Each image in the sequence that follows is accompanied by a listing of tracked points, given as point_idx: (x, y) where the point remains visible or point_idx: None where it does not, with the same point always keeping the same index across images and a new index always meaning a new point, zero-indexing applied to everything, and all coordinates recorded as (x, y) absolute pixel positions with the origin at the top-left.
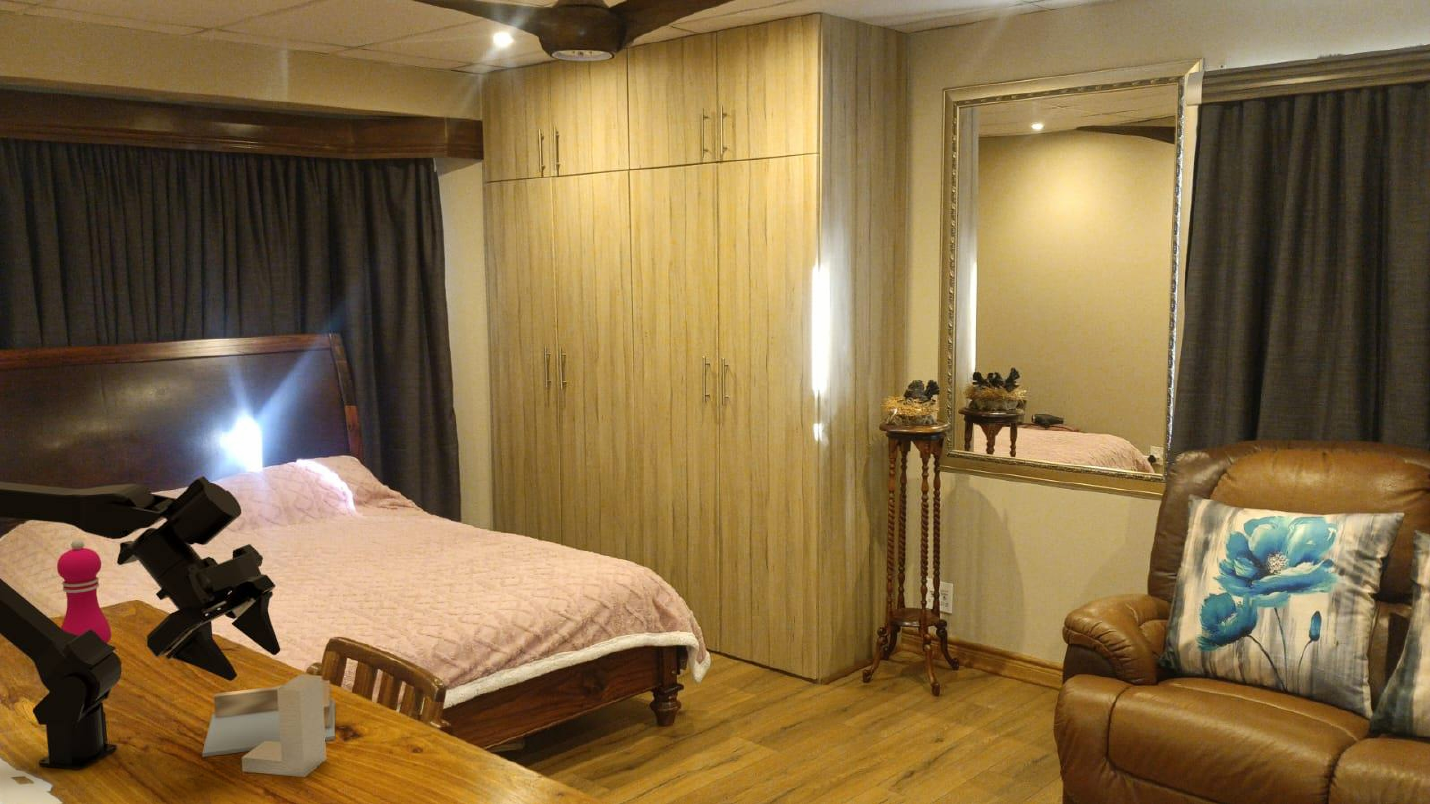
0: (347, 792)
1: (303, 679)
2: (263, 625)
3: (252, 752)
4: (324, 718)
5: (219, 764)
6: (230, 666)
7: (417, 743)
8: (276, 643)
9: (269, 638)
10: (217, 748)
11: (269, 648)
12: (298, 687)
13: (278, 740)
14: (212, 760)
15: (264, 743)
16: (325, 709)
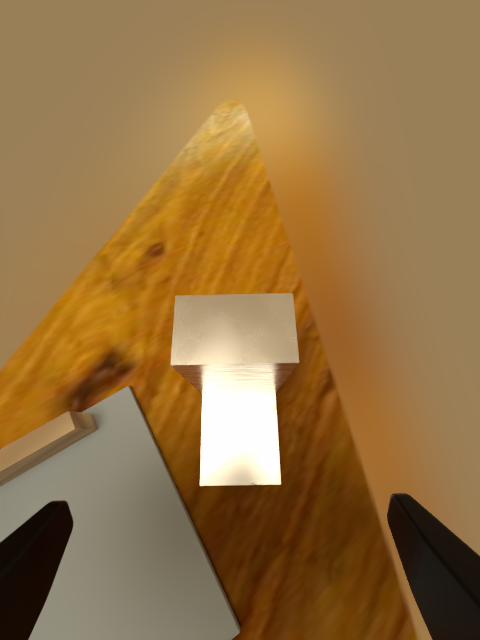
0: (297, 274)
1: (209, 330)
2: None
3: (254, 476)
4: (86, 422)
5: (262, 554)
6: (438, 534)
7: (134, 259)
8: (29, 530)
9: (6, 589)
10: (210, 610)
11: (49, 564)
12: (270, 310)
13: (156, 485)
14: (248, 586)
15: (211, 478)
16: (75, 418)
